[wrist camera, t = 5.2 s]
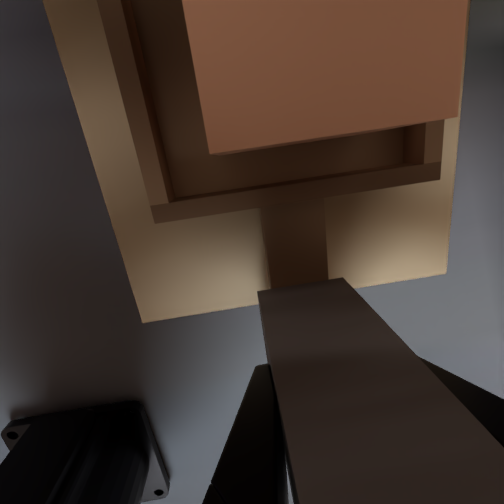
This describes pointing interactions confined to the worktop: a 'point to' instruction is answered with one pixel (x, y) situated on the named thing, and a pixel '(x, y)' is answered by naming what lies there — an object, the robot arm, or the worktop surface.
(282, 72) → the block
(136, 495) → the robot arm
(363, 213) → the board
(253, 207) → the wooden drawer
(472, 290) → the worktop surface
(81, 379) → the worktop surface
